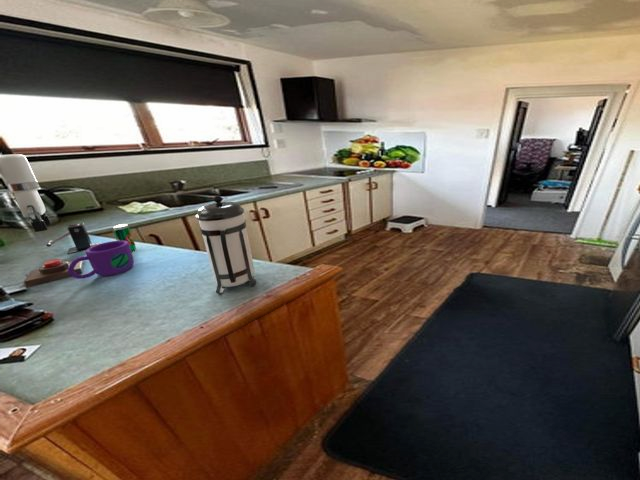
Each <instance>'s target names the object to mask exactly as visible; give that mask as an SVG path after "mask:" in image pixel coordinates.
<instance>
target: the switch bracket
mask: <svg viewBox="0 0 640 480" xmlns="http://www.w3.org/2000/svg"><path fill="white" fill-rule="evenodd" d="M78 224H79V225H78ZM76 225H77V226H76ZM67 230H68V232H70V237H71V240H72V242H73V244H74V246H73V247H69V248H68V251H67V255H71V254H75V253H80V252H85V251H86V250H87V249H88V248H90V247H93V246H95V245H98V244H102V242H101V241H98V242H92V241H91V238H90V235H89V233H88V230H87V227H86V226H85V223H84V222H79V223H73V224H68V226H67Z"/></svg>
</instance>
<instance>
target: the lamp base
mask: <svg viewBox="0 0 640 480" xmlns="http://www.w3.org/2000/svg"><path fill="white" fill-rule="evenodd" d="M61 262H62V264H61V265H58V266H55V267H51V268H45V266H44V264H43V265H42V266H39V267H38V268H36V269H32V270H30V271H29V273H28V274H27V276H26V278H25V279H24V284H25V286H26V288H29V287H34V286H37V285H42V284H45V283H50V282H52V281H53V282H54V281H57V280H61V279H66V278H69V277H72V276H71V275H70V274H69V273H68V267H69V265H70V264H71V262H72V261H68V260H61ZM84 269H85V261H84V260H82V261H79V262H78V263H77V264H76V266H75V268H74V272H76V273H77V274H79V275H83V273H84Z"/></svg>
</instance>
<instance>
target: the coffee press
mask: <svg viewBox="0 0 640 480" xmlns="http://www.w3.org/2000/svg"><path fill="white" fill-rule="evenodd" d="M244 213H245V209H244V207H243V206H242V205H241V204H240V203H238V202H234V201H223V197H222V196H221V195H215V196H214V197H213V203H208V204H205V205H204V206H202V207H200V208H199V209H198V211H197V214H196V215H195V218H196V220H197V221H198V222H199V230H200V234H201V235H202V238H203V242H204V246H205V250H206V253H207V258H208V261H209V262H208V263H209V265H210V270H211V273H212V277H213V280H214V283H215V284H216V285H217V286H216V290H215V294H217V295H223V293H224V291H225V289H226V288H232V287H236V286H240V285H243V284H245V283H246V284H247V285H249V286H250V287H253V286H255V285H257V282H256V280H255V279H254V278H253V277H254V276H255V273H256V271H255V267H254V266H255V265H254V260H253V256H252V250H251V245H250V240H249V234H248V230H247V221H246V219H245V215H244Z"/></svg>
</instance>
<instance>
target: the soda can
mask: <svg viewBox="0 0 640 480" xmlns="http://www.w3.org/2000/svg"><path fill="white" fill-rule="evenodd" d="M112 228H113V229H112V232H113V235H114V237H115V241H127V242H128V243H129V246H130V249H131V252H132V253H134V252H136V251H135V250H137V245H136V243H135V240H134V237H133V235H132V231H131V228H130V226H128V224H126V223H122V224H118V225H117V224H116V225H114V226H113V227H112ZM133 251H134V252H133Z"/></svg>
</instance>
